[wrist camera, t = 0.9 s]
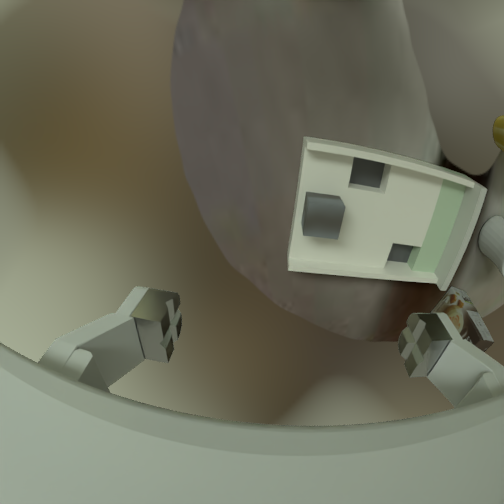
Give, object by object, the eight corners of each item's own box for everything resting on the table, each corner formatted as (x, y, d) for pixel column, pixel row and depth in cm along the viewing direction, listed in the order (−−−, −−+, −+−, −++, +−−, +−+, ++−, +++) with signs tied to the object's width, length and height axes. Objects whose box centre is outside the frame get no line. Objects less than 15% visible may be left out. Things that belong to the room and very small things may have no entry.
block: (306, 191, 38) (309, 201, 35) (339, 196, 38) (345, 206, 35) (300, 222, 41) (303, 235, 38) (333, 226, 41) (337, 239, 37)
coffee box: (450, 285, 48) (482, 338, 35) (465, 291, 49) (495, 341, 35) (427, 314, 53) (451, 369, 40) (443, 319, 54) (467, 370, 40)
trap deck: (303, 136, 37) (309, 144, 31) (464, 174, 36) (487, 189, 30) (287, 253, 47) (288, 278, 42) (431, 268, 47) (445, 290, 41)
